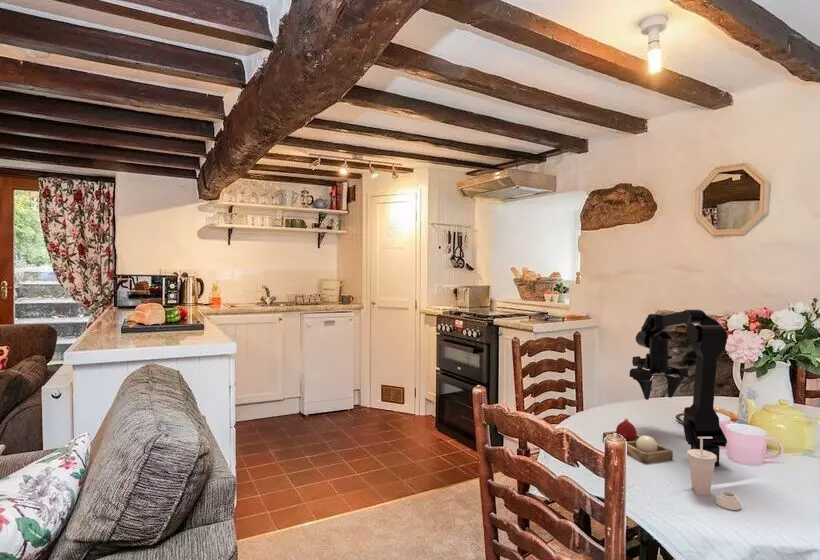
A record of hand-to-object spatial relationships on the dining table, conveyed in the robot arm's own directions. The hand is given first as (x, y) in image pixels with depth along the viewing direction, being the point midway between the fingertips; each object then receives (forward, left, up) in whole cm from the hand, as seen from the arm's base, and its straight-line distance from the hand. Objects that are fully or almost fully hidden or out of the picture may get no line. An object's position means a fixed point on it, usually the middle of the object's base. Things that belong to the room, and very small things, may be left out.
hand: (658, 398), depth 159 cm
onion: (-7, +18, -11) cm, 22 cm away
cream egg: (-15, +18, -11) cm, 26 cm away
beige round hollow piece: (-43, +19, -12) cm, 49 cm away
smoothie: (-36, +20, -12) cm, 43 cm away
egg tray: (-11, +18, -12) cm, 24 cm away
